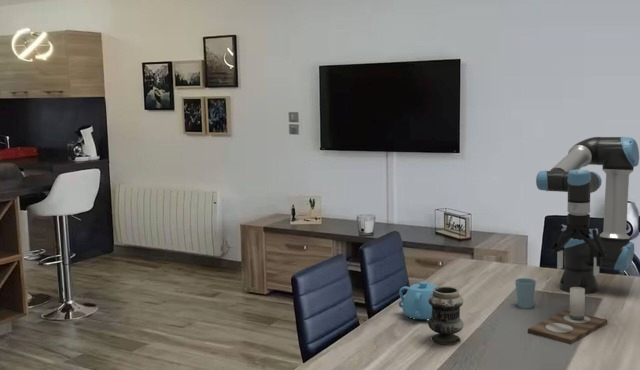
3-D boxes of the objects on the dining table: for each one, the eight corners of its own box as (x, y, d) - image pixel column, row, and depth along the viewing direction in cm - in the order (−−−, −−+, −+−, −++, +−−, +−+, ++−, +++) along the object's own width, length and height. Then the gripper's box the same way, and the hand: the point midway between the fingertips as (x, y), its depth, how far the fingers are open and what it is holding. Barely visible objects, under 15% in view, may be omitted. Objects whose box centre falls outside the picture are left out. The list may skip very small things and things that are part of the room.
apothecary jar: (456, 348, 220) (455, 296, 218) (422, 342, 226) (422, 291, 224) (468, 336, 230) (468, 286, 228) (436, 331, 236) (435, 282, 234)
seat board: (565, 314, 250) (565, 309, 250) (607, 323, 238) (607, 318, 238) (527, 332, 232) (527, 327, 232) (571, 344, 220) (571, 338, 220)
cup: (539, 307, 259) (539, 281, 257) (524, 310, 256) (524, 284, 254) (526, 302, 266) (526, 277, 264) (511, 305, 262) (511, 280, 261)
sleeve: (573, 315, 242) (574, 286, 241) (586, 318, 239) (587, 288, 237) (566, 318, 239) (567, 289, 238) (580, 321, 235) (580, 291, 234)
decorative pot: (435, 308, 262) (434, 274, 261) (452, 320, 247) (452, 285, 245) (396, 312, 259) (395, 278, 257) (411, 325, 243) (410, 289, 242)
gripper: (540, 211, 241) (540, 267, 244) (608, 219, 222) (607, 280, 225) (551, 208, 246) (550, 263, 249) (618, 215, 227) (617, 275, 230)
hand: (577, 271), depth 237 cm, fingers open, 13 cm apart
